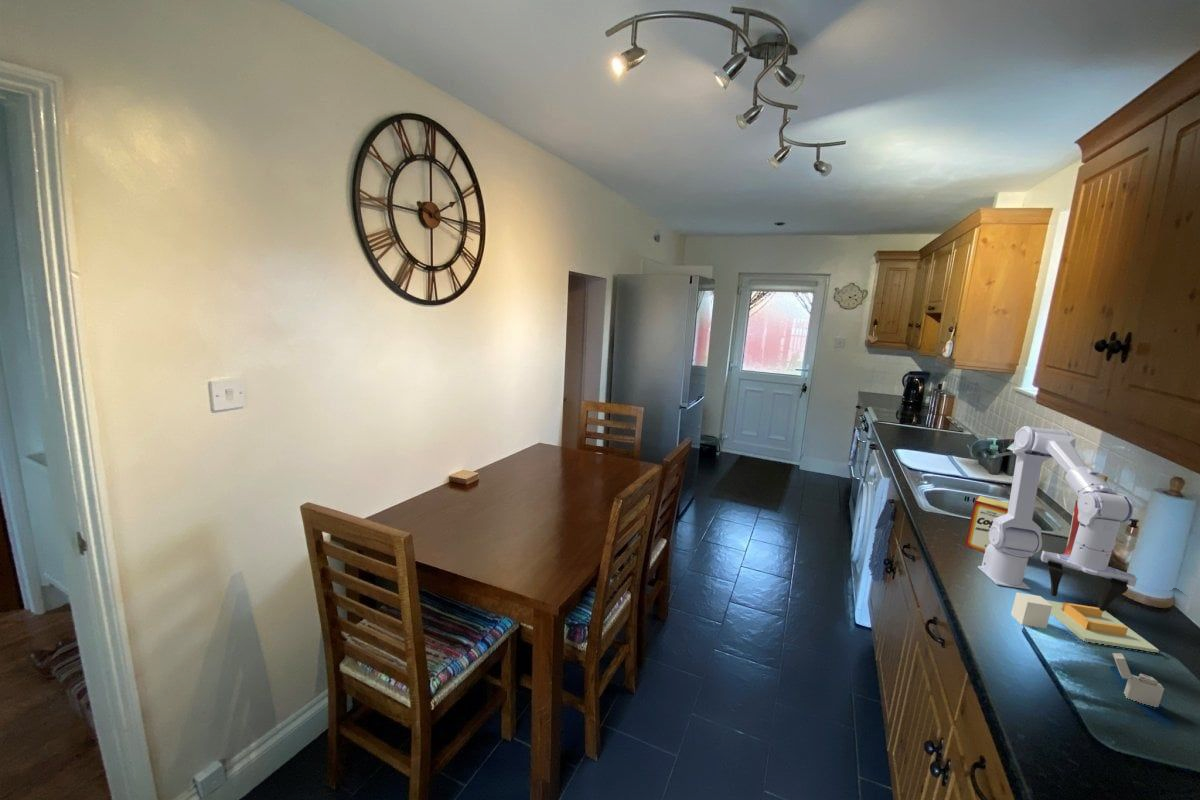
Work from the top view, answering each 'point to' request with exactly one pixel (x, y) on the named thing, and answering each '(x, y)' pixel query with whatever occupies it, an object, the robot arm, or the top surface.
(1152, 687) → the lighter
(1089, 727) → the top surface
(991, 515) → the baking soda box
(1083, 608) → the deck
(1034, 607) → the chute block
